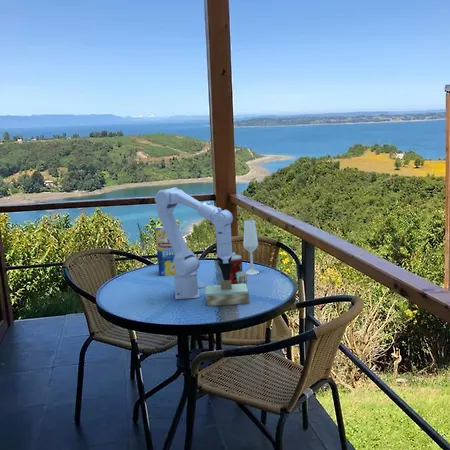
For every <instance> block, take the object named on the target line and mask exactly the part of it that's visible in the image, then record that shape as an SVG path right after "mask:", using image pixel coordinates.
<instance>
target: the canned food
mask: <svg viewBox="0 0 450 450" xmlns="http://www.w3.org/2000/svg"><path fill="white" fill-rule="evenodd" d="M230 262H233V265H232V267H231V272H230V279H229V280H231V284H237V274H236V272H242V271H243V258H242V256H241V255H240V254H235V255H233V256H232V258H231V261H230ZM229 280H224V281H229ZM239 283H240V284H242V282H240V278H239Z"/></svg>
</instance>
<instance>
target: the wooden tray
mask: <svg viewBox="0 0 450 450" xmlns="http://www.w3.org/2000/svg"><path fill="white" fill-rule="evenodd" d="M249 295H250V294H249V292H248V293H244V294H229V295H214V296H206V295H205V297H206V307H214V306H228V305H242V304H243V305H244V304H249V303H250V296H249Z"/></svg>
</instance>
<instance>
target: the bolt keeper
mask: <svg viewBox="0 0 450 450" xmlns="http://www.w3.org/2000/svg"><path fill="white" fill-rule="evenodd" d="M246 271H247V270H246ZM246 271H245V270H244V271H243V270H242V272H236V274H237V283H236V284H241V283H239V277H242V276H244V282H243V284H246V285H247V286H248V278H247V277H248V276H247V275H248V274H246Z"/></svg>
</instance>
